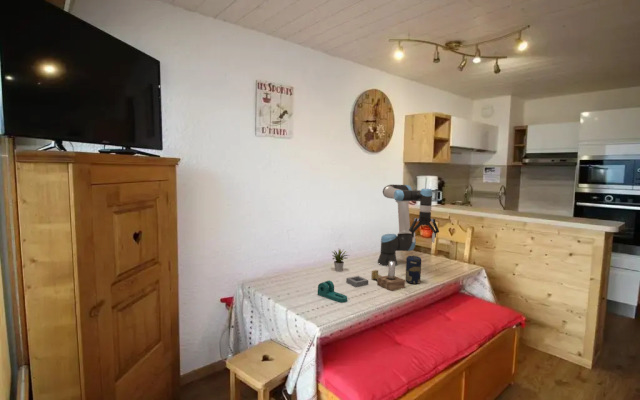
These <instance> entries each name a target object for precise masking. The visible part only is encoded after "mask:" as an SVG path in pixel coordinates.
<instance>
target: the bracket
mask: <svg viewBox="0 0 640 400" xmlns="http://www.w3.org/2000/svg"><path fill="white" fill-rule="evenodd" d="M317 295H318V296H320V297H323V298H326V299H328V300H330V301H334V302H336V303H341V304H343V303H347V302H348V295H345V294H343V293H340V292H336V291H335V284H334V282H333V281H332V280H326V281H324V282H323V281H322V282H320V283H319V284H318V285H317Z"/></svg>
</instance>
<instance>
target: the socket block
mask: <svg viewBox="0 0 640 400" xmlns="http://www.w3.org/2000/svg"><path fill="white" fill-rule="evenodd" d="M381 276H382V275H381ZM376 280H377V279H376ZM405 283H406V279H403V278H400V277H398V276H395V278H394V280H389V279H388V274H387V275H383V276H382V277H378V280H377V283H376V284H377V286H378V287H381V288H383V289H385V290H388V291H389V292H392V291H396V290H397V291H398V290H401V288H402V289H405V285H406V284H405Z"/></svg>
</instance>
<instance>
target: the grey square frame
mask: <svg viewBox="0 0 640 400" xmlns="http://www.w3.org/2000/svg"><path fill="white" fill-rule="evenodd" d="M345 282H346V283H347V284H349V285H350V286H353V287H354V288H360V287H364V286H368V285H369V279H366V278H364V277H362V276H360V275H354V276H351V277H346V279H345Z"/></svg>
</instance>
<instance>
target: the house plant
mask: <svg viewBox="0 0 640 400" xmlns="http://www.w3.org/2000/svg"><path fill="white" fill-rule="evenodd" d="M343 251H344V250H341V248H339V249H338V252H337V250H334V251H332V254H333V255H332V260H335V261H334V262H333V265H334V271H335V272H343V267H344V260H348V258H349V257H348V254H346V253H347V250H346V251H344V252H343ZM346 256H347V257H346Z"/></svg>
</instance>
